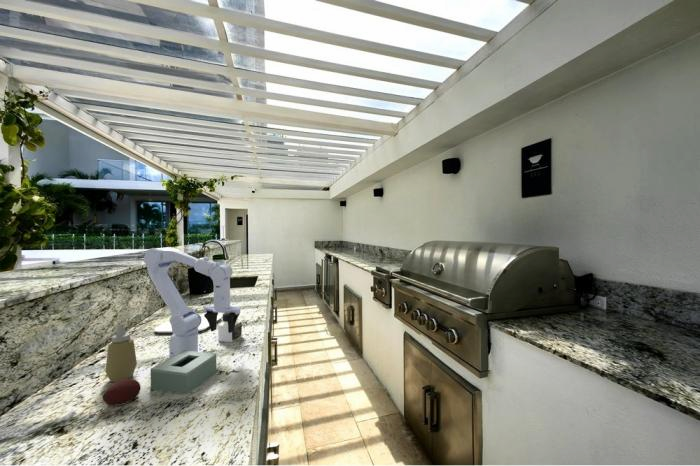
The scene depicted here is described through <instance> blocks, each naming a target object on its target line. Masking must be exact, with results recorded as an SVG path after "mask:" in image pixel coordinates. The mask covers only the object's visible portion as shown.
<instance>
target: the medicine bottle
mask: <svg viewBox="0 0 700 466" xmlns="http://www.w3.org/2000/svg"><path fill="white" fill-rule="evenodd" d="M229 314H230V313H222V323H220V324H217V332H218V333H217V334H218V337H217V338H218V342H225V343H226V342H227V343H233V342H235V341H236V340H238V339H241V337H243V335H242V334H243V331H242V329H243V328H242V327H243V326H242V325H243V323H242V321H241V320H238V319H237V320H236V323H235V326H234V331H233V332H231V333H229V332H228V322H227V318H226V315H229Z"/></svg>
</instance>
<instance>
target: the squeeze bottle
mask: <svg viewBox="0 0 700 466" xmlns="http://www.w3.org/2000/svg"><path fill="white" fill-rule="evenodd" d="M137 364H138V362H137V355H136V349H135V340H134V339H133V338H131V333H130V332H127V331H126V328H125V326H124V323H119V324H118V326H117V329H116V333H115V334H114V335H112V336H111V342H110V343H109V344H108V347H107V355H106V364H105V374H106V376H107V378H108V379H109V381H110V382H111V383H116V382H118V381H121V380H124V379H131V377H132V376H134V373H135V371H136V370H135V369H136V367H137Z"/></svg>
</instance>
